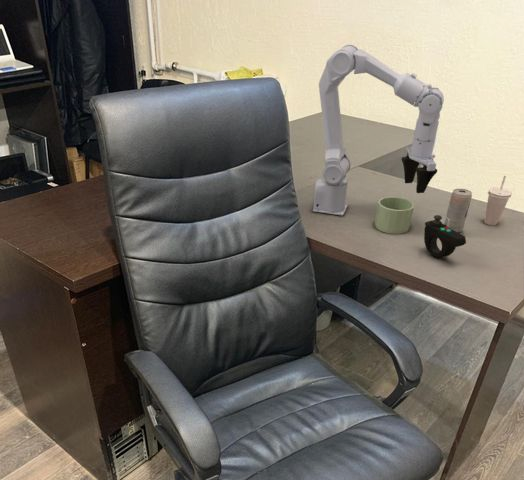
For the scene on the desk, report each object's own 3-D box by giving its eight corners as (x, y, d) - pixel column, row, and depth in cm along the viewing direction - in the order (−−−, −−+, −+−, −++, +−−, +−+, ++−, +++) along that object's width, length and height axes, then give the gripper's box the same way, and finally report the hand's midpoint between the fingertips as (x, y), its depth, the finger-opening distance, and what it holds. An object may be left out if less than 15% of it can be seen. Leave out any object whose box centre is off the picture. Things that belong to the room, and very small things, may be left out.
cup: (372, 230, 151) (376, 207, 147) (377, 217, 159) (380, 194, 155) (407, 236, 149) (412, 212, 145) (410, 222, 157) (415, 199, 152)
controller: (428, 245, 145) (436, 211, 139) (461, 265, 136) (472, 229, 130) (416, 249, 143) (424, 214, 137) (449, 268, 135) (459, 232, 128)
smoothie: (502, 220, 159) (517, 174, 150) (500, 228, 154) (516, 182, 146) (480, 216, 161) (494, 171, 152) (478, 224, 156) (491, 178, 148)
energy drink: (461, 229, 153) (472, 189, 146) (461, 237, 149) (472, 196, 142) (443, 227, 154) (453, 187, 147) (441, 234, 150) (452, 193, 143)
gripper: (450, 146, 137) (439, 196, 146) (425, 130, 149) (415, 177, 157) (426, 147, 136) (415, 197, 144) (402, 131, 147) (394, 179, 156)
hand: (414, 187), depth 151 cm, fingers open, 7 cm apart
